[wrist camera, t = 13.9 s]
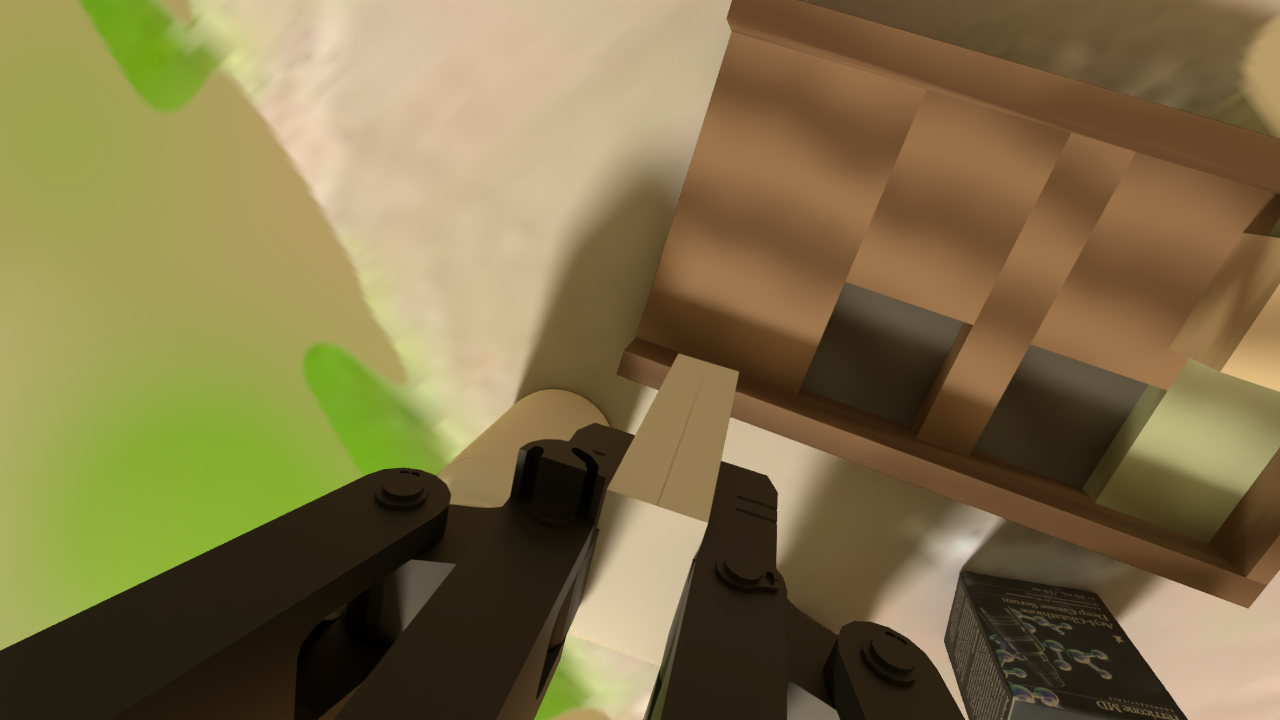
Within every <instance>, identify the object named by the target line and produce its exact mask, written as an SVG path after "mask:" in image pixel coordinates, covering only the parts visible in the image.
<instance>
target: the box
mask: <svg viewBox="0 0 1280 720" xmlns="http://www.w3.org/2000/svg"><path fill="white" fill-rule="evenodd" d="M944 643H945V646H946V649H947V652H948V655H949V659H950V662H951V664H952V668H953V670H954V674H955V677H956V681H957V684H958V686H959V690H960V693H961V696H962V700H963V702H964V705H965V709H966V712H967V715H968V718H969V720H1188V719H1187V718H1186V716H1185V715H1184V713H1183V712H1182V711H1181V709H1180V708H1179V707H1178V706H1177V704H1176V703H1175V701H1174V700H1173V698H1172V697H1171V695H1170V694H1169V692H1168V691H1167V690H1166V689H1165V687H1164V685H1163V684H1162V683H1161V681H1160V680H1159V679H1158V678H1157V676H1156V675H1155V673H1154V672H1153V670H1152V669H1151V668H1150V666H1149V665H1148V664H1147V662H1146V661H1145V660H1144V658H1143V657H1142V655H1141V654H1140V653H1139V651H1138V650H1137V648H1136V647H1135V646H1134V644H1133V643H1132V642H1131V640H1130V639H1129V638H1128V636H1127V635H1126V633H1125V632H1124V630H1123V629H1122V628H1121V626H1120V625H1119V624H1118V622H1117V621H1116V619H1115V618H1114V617H1113V615H1112V614H1111V613H1110V611H1109V610H1108V608H1107V607H1106V606H1105V604H1104V603H1103V601H1102V600H1101V599H1100V597H1099V596H1098V595H1097V594H1095V593H1089V592H1083V591H1076V590H1070V589H1064V588H1058V587H1052V586H1045V585H1038V584H1032V583H1027V582H1020V581H1013V580H1008V579H1002V578H996V577H990V576H984V575H978V574H974V573H968V572H960V574H959V579H958V583H957V588H956V592H955V597H954V600H953V604H952V609H951V613H950V617H949V621H948V626H947V629H946V634H945V638H944Z"/></svg>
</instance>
